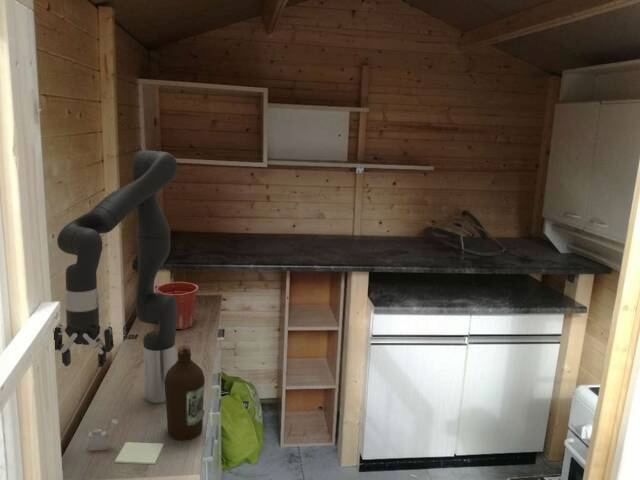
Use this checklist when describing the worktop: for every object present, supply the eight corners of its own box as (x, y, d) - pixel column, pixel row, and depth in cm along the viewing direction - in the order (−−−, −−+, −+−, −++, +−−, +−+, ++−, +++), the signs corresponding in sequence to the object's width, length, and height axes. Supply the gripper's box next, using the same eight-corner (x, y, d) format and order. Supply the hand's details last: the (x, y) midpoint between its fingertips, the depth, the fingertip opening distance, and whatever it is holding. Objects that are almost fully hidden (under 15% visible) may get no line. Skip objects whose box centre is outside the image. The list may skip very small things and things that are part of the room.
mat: (126, 443, 143) (125, 442, 142) (163, 445, 143) (163, 443, 143) (114, 462, 135) (114, 461, 135) (154, 464, 135) (154, 462, 135)
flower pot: (164, 316, 231) (164, 280, 227) (202, 318, 230) (202, 282, 226) (151, 331, 214) (150, 293, 211) (192, 333, 214) (192, 295, 210)
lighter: (89, 450, 139) (87, 423, 137) (90, 446, 141) (88, 419, 139) (118, 448, 140) (116, 421, 139) (119, 444, 142) (117, 417, 140)
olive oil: (157, 434, 147) (155, 349, 142) (183, 416, 157) (183, 336, 151) (186, 446, 143) (185, 359, 137) (212, 427, 152) (212, 345, 146)
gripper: (116, 301, 138) (117, 360, 142) (60, 299, 138) (62, 358, 141) (105, 311, 131) (107, 373, 134) (46, 309, 131) (49, 370, 134)
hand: (84, 365), depth 138 cm, fingers open, 8 cm apart
